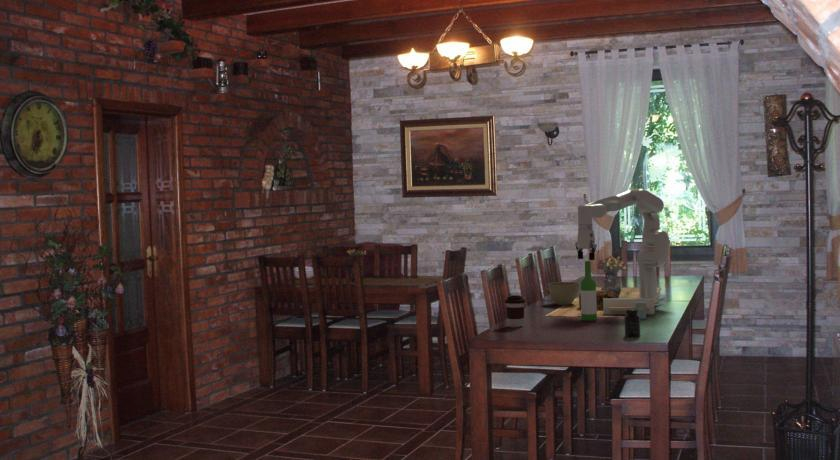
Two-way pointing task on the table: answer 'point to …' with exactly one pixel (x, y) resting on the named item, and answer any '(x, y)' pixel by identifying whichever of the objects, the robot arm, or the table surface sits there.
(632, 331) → the supplement bottle
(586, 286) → the wine bottle
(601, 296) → the bread
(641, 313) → the cabinet block
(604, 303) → the wall shelf
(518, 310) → the coffee cup
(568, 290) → the flower pot
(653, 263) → the robot arm
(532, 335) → the table surface
